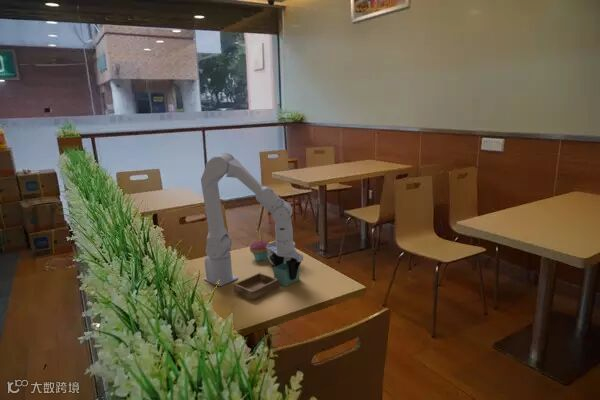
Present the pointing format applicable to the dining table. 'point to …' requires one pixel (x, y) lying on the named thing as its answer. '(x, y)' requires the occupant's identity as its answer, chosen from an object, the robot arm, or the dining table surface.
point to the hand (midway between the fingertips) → (286, 276)
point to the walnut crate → (256, 286)
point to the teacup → (272, 253)
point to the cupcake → (259, 248)
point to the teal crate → (284, 274)
